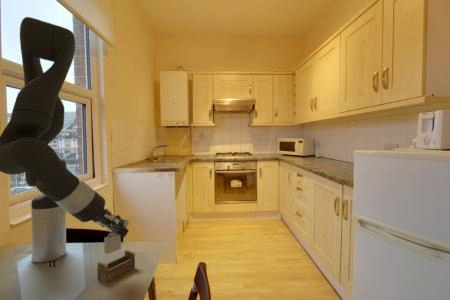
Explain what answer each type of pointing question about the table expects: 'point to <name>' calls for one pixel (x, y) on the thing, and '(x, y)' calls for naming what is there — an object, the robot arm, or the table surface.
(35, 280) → the table surface
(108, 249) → the lighter
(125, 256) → the open wooden box
